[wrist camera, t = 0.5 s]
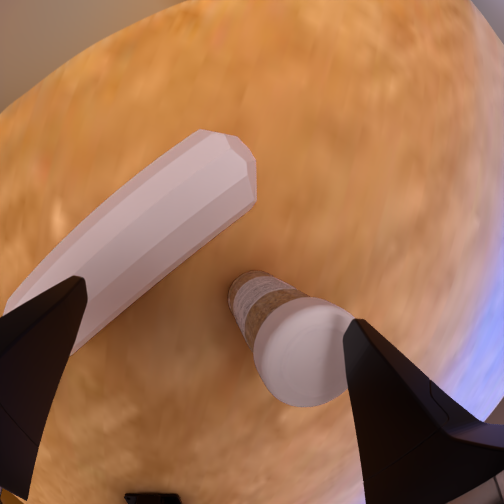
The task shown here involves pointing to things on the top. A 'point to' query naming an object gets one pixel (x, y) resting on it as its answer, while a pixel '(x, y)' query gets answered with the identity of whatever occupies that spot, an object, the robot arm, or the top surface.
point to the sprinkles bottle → (291, 338)
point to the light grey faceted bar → (149, 227)
